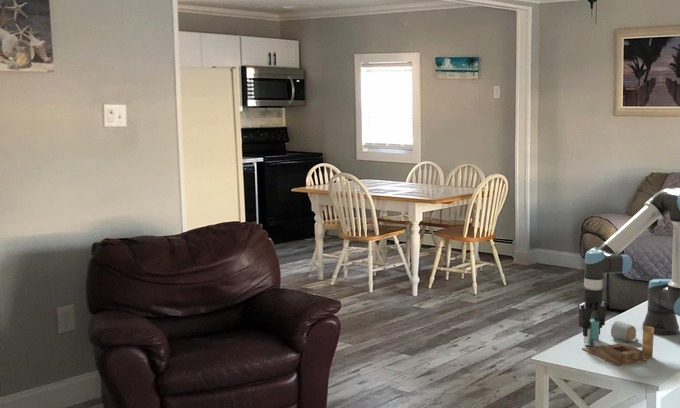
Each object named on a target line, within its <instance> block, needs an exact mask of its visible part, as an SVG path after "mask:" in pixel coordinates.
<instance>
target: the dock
mask: <svg viewBox="0 0 680 408" xmlns="http://www.w3.org/2000/svg"><path fill="white" fill-rule="evenodd" d="M614 348H619V349H620V350H619V351H618V350H615V349H614ZM581 350H582V351H584V352H586V353H589V354H591V355H593V356H595V357H598V358H600V359H602V360H604V361H606V362H609V363H611V364H612V365H613V364H614V365H615V366H618V367H621V366H627V365H633V364H640V363H645V362H648V360H647V359H646V358H645V351H642V349H640V348H637V347H635V346H632V345H630V344H627V343H624V342H621V343H615V344H614V343H612V344H610V345H606V346H600V348H597V347H595V346H588V347H582V348H581Z"/></svg>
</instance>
